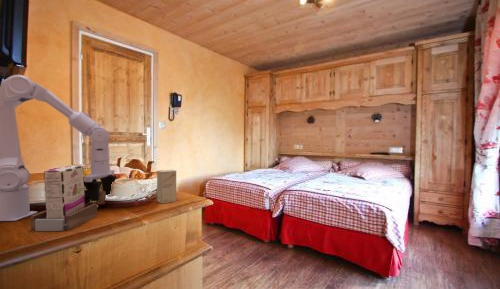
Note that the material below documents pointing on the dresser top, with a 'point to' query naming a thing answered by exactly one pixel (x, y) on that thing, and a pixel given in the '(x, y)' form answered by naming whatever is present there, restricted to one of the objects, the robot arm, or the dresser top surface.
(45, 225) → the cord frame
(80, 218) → the shelf lane
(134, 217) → the dresser top surface
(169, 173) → the skincare box
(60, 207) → the candy bar box
